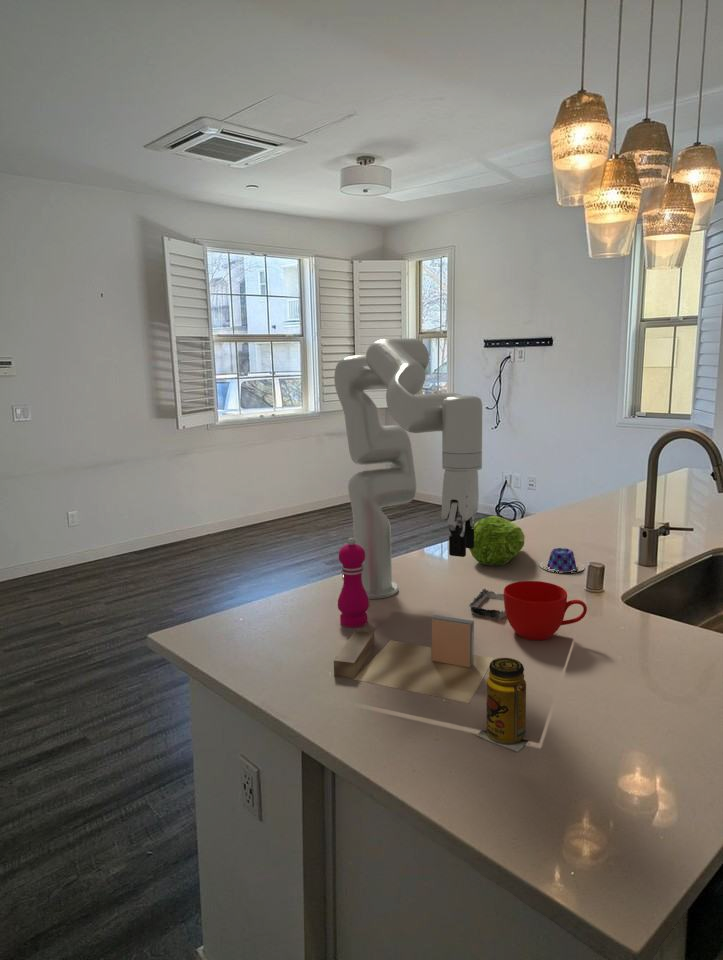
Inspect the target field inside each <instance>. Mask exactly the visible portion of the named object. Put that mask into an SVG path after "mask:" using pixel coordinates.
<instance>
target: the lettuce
mask: <svg viewBox="0 0 723 960" xmlns="http://www.w3.org/2000/svg"><path fill="white" fill-rule="evenodd" d="M471 529H474V548H472V549H471V548H468V550H469V551H470V553H471V555H472V557H473V558H474V559H475V560H476V561H477V563H478V564H479V565H486V566H493V567H494V566H498V567H499V566H501V565H505V564H507V563H509V562H510V561H511V560H512V559H514V558H515V557H516V556H517V555H519V553H520V552H521V550H522V549H523V547H524V545H525V538H526V535H525V534H524V531H523V530H522V528H521V527H520V526H518V525H516V524H515V523H513V522H512V521H509V519H508V520H507V519H506V518H503V517H500V516H497V515H490V516H486V517H484V518H481V519H479V520H478V521H475V522H474V528H471Z"/></svg>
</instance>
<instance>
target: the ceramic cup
mask: <svg viewBox="0 0 723 960" xmlns="http://www.w3.org/2000/svg"><path fill="white" fill-rule="evenodd" d="M503 594H504V600H503V605H504V611H505V612H506V616H505V617H506V619H507V622H508V623H509V625H510V627H511V628H512V630H513V631H514V632H515V633H516V634H517V635H518V636H519V637H521V638H523V639H526V640H530V641H544V640H548V639H550V638H551V637H552V636H553V635H554V634H555V633H557V632H558V630H559V629H560V628H561V627H562V626H565V625H571V624H576V623H578V622H579V621H581V620H583V619H584V618H585V616H586V614H587V613H588V612H587V611H588V607H587V605H586V603H585V602H584V601H583V600H581V599H572V600H569V601H568V600H567V599H568V593H567V590H566V589H564V587H562V586H560V585H557V584H555V583H550V582H546V581H539V580H524V581H523V580H521V581H520V580H519V581H516V582H511V583H509V584H507V585H506V586H505V587H504V589H503ZM575 604H576V605H580V606H581V607H582V608H583V611H582V612H581V614H579V616H577V617H573V618H571V619H567V620H566V619H565V620H564V618H565V616H566V615H565V614H566V612H567V610H568V609H569V608H570V607H571V606H572V605H575Z"/></svg>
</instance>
